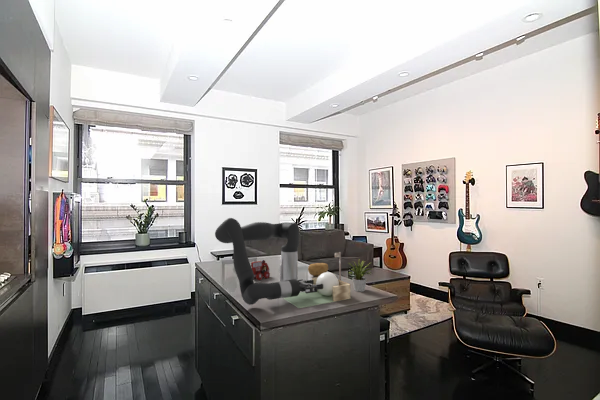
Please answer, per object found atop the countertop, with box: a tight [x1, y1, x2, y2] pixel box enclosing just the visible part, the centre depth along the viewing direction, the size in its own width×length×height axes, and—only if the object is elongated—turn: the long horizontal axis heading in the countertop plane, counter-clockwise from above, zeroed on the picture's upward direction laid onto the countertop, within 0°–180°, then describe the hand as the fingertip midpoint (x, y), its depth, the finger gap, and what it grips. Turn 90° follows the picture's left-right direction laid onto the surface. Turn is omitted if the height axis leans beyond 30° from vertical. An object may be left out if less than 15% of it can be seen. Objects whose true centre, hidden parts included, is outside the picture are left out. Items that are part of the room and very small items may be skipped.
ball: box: [316, 271, 339, 296], centre depth 154 cm, size 11×11×11 cm
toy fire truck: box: [250, 259, 271, 281], centre depth 189 cm, size 7×12×10 cm, turn 133°
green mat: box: [282, 291, 352, 309], centre depth 151 cm, size 28×20×1 cm
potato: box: [307, 262, 329, 277], centre depth 194 cm, size 10×14×8 cm
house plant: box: [348, 258, 372, 292], centre depth 162 cm, size 14×14×16 cm
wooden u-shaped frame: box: [311, 251, 351, 303], centre depth 155 cm, size 11×19×20 cm, turn 29°
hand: (317, 284), depth 152 cm, fingers open, 8 cm apart
